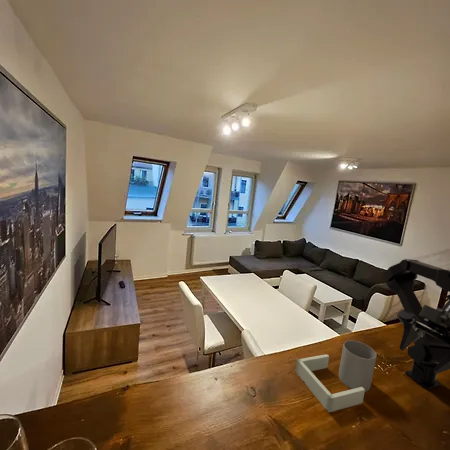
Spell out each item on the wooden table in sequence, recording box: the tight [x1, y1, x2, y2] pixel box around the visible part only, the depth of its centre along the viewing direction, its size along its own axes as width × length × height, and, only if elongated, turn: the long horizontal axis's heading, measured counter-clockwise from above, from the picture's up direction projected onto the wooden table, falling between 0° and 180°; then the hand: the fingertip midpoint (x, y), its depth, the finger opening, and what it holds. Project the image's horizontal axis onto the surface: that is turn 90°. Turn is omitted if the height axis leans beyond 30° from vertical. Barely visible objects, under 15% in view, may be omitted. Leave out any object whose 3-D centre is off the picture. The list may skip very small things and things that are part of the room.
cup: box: [338, 339, 377, 392], centre depth 72 cm, size 8×8×10 cm
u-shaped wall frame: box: [295, 354, 366, 413], centre depth 69 cm, size 11×14×4 cm
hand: (416, 360), depth 63 cm, fingers open, 8 cm apart
